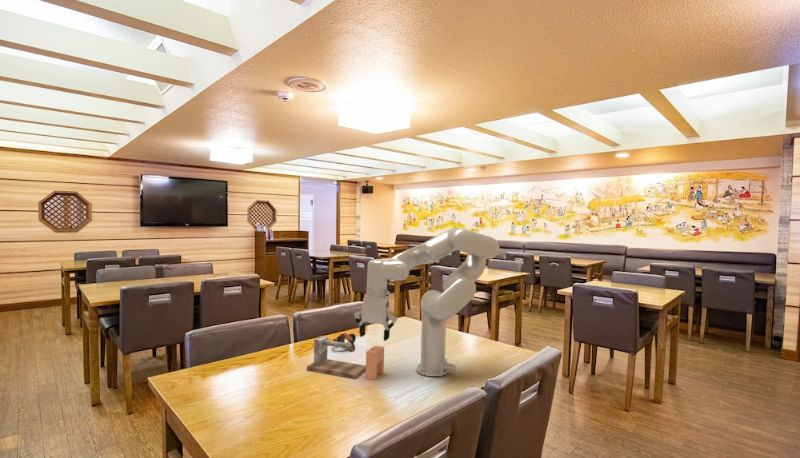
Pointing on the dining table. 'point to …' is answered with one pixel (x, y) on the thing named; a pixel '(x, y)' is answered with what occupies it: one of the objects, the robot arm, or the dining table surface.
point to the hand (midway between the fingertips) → (374, 337)
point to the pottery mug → (348, 338)
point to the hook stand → (332, 366)
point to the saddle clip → (374, 362)
